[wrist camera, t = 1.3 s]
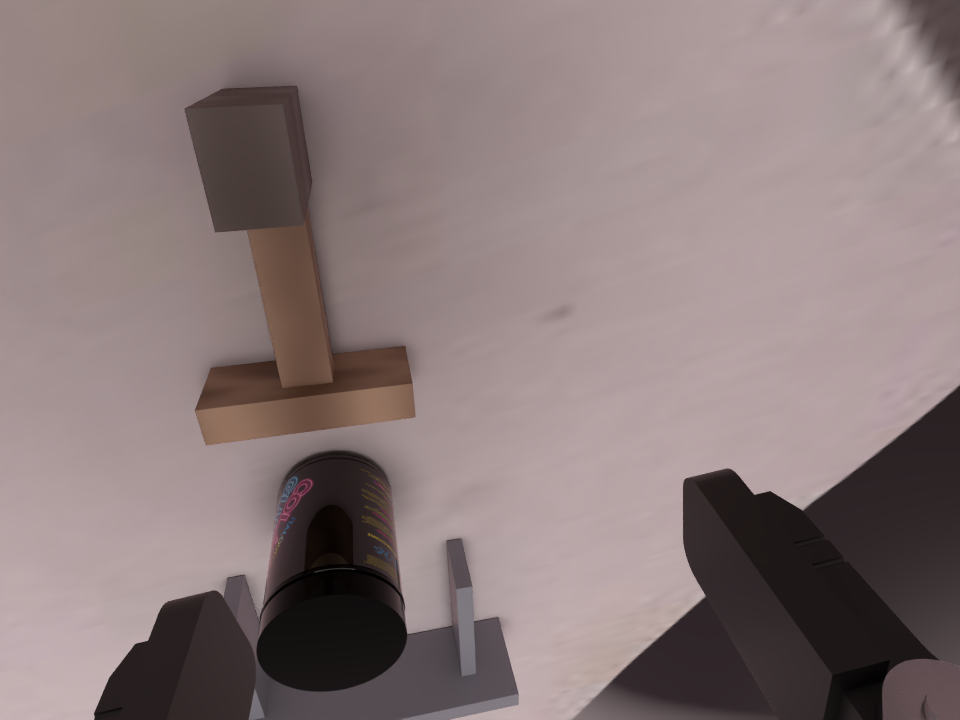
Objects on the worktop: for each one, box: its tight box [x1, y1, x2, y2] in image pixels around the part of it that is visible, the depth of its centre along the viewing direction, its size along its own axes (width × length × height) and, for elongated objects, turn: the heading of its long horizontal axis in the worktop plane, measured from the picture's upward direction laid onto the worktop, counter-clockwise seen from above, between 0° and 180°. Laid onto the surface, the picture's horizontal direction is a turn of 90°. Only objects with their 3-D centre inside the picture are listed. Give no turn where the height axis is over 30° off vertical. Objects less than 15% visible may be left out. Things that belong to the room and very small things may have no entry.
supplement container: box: [256, 455, 407, 692], centre depth 31 cm, size 7×7×10 cm
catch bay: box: [224, 539, 519, 720], centre depth 38 cm, size 20×10×6 cm, turn 91°
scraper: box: [185, 86, 415, 445], centre depth 26 cm, size 10×15×7 cm, turn 1°
